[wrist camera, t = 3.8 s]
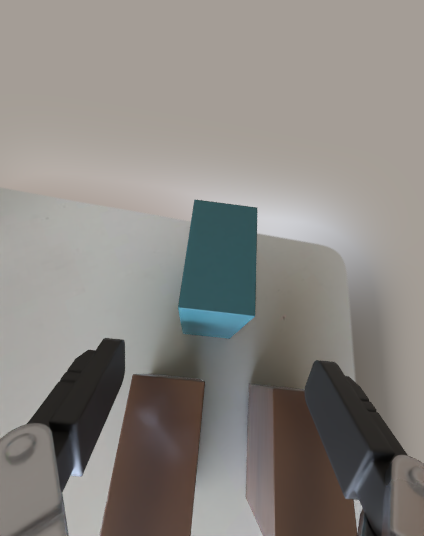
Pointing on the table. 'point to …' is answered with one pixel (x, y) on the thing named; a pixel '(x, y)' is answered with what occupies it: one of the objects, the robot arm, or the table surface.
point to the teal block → (219, 270)
